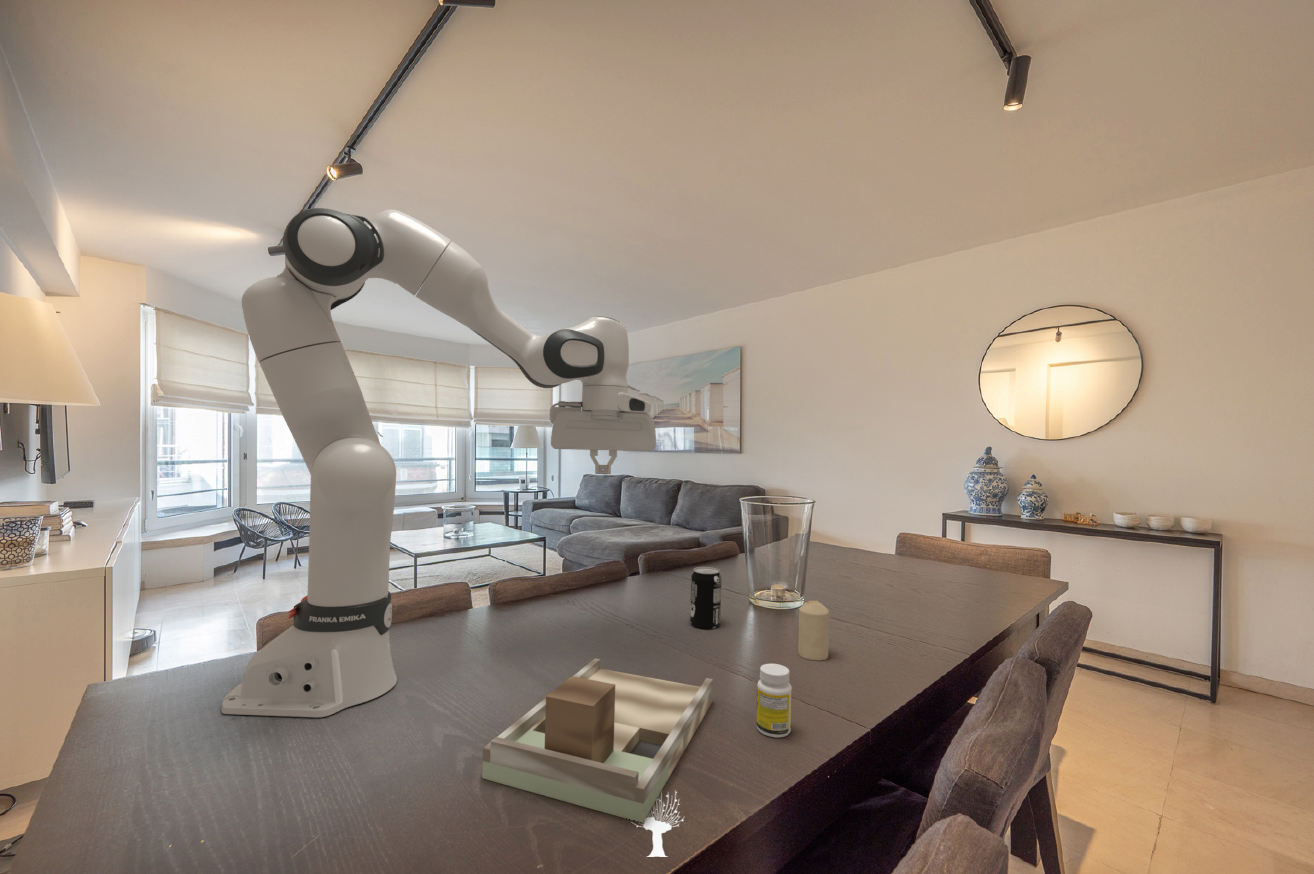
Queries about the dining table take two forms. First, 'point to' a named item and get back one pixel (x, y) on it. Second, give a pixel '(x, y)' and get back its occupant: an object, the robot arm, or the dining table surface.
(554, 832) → the dining table surface
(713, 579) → the beverage can
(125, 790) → the dining table surface
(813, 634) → the candle
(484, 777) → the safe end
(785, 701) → the supplement bottle
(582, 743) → the walnut block
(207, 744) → the dining table surface
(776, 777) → the dining table surface
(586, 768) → the box
